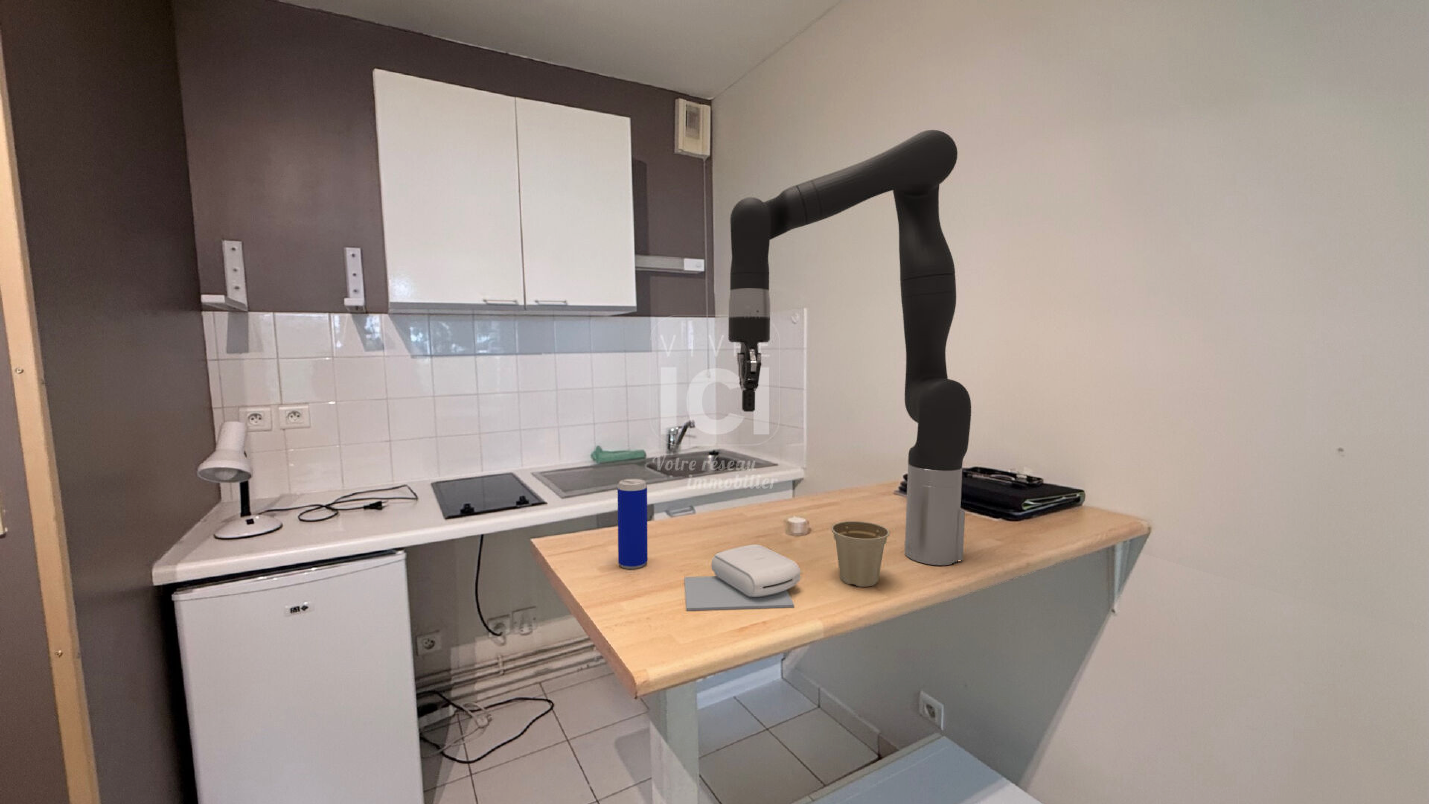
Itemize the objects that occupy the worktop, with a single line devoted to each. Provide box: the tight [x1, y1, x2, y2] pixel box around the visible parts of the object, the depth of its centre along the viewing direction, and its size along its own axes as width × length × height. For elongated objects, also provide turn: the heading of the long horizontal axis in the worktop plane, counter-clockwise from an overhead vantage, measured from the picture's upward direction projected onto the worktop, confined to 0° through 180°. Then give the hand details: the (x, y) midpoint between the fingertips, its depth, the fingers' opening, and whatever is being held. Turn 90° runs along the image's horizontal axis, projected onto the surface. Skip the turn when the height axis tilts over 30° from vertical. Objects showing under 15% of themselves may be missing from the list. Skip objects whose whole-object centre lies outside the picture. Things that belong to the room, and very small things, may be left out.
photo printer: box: [711, 544, 802, 597], centre depth 87 cm, size 10×4×12 cm
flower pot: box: [830, 520, 891, 588], centre depth 90 cm, size 9×9×9 cm
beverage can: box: [616, 478, 649, 570], centre depth 95 cm, size 5×5×15 cm
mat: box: [684, 575, 795, 612], centre depth 85 cm, size 16×11×1 cm
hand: (748, 411), depth 99 cm, fingers closed
